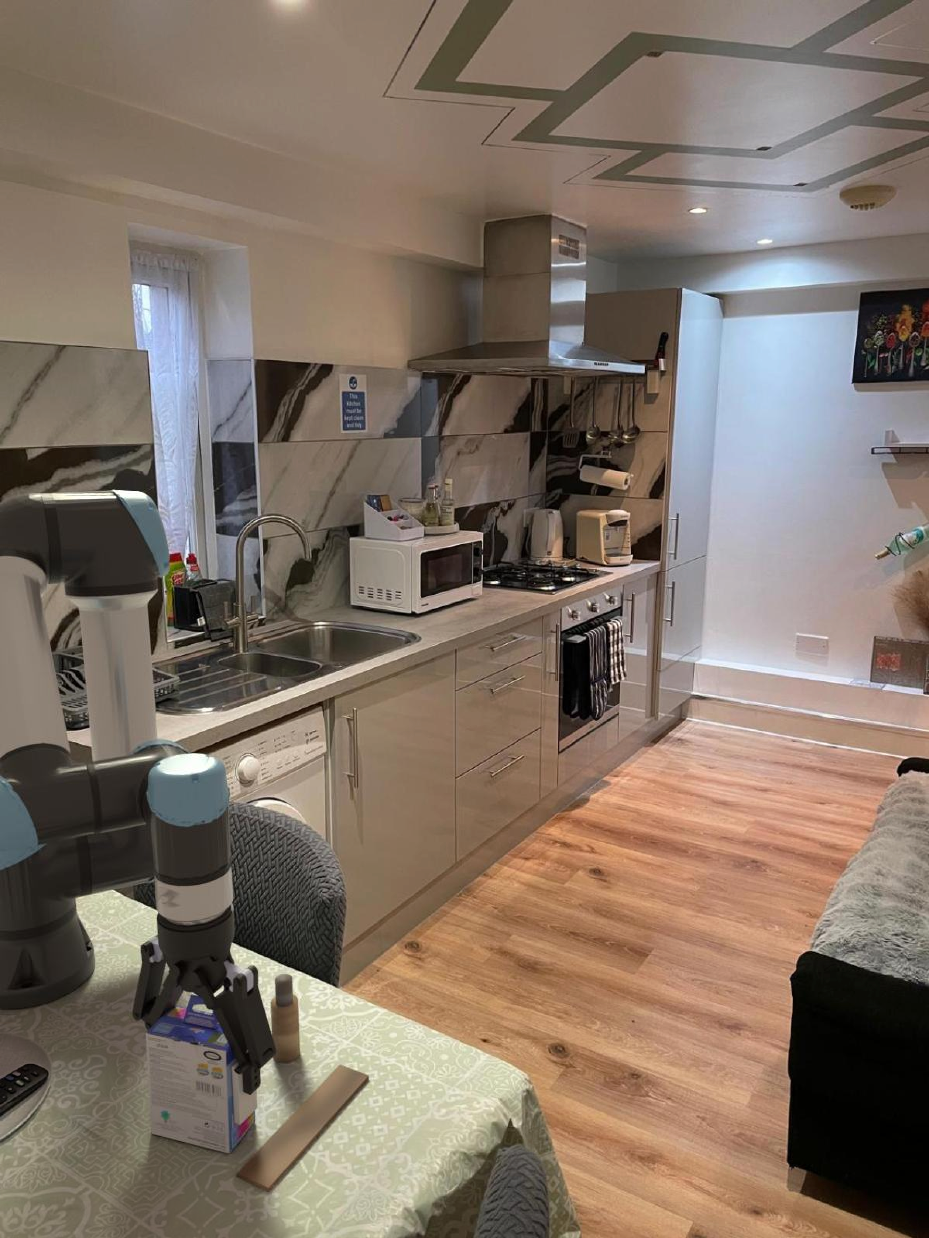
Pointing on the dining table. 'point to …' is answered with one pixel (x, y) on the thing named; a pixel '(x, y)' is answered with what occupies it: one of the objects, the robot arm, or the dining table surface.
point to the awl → (285, 1020)
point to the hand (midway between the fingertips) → (205, 1097)
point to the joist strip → (302, 1128)
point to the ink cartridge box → (192, 1080)
